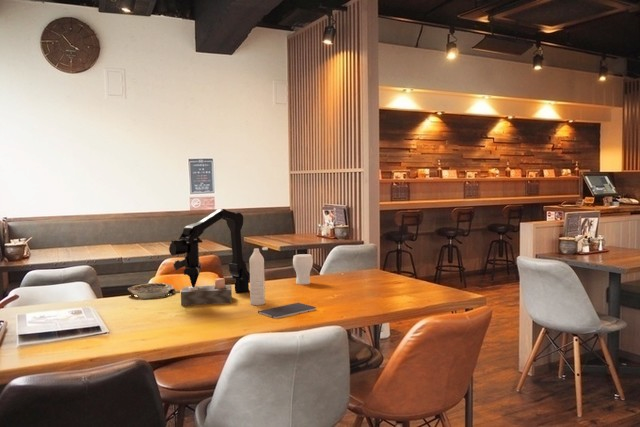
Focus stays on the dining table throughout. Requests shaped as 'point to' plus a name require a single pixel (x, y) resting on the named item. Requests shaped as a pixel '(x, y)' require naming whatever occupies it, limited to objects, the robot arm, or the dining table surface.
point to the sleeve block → (206, 295)
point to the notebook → (286, 310)
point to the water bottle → (257, 278)
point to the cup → (302, 268)
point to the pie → (152, 290)
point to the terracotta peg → (220, 283)
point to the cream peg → (193, 288)
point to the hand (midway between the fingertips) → (193, 286)
